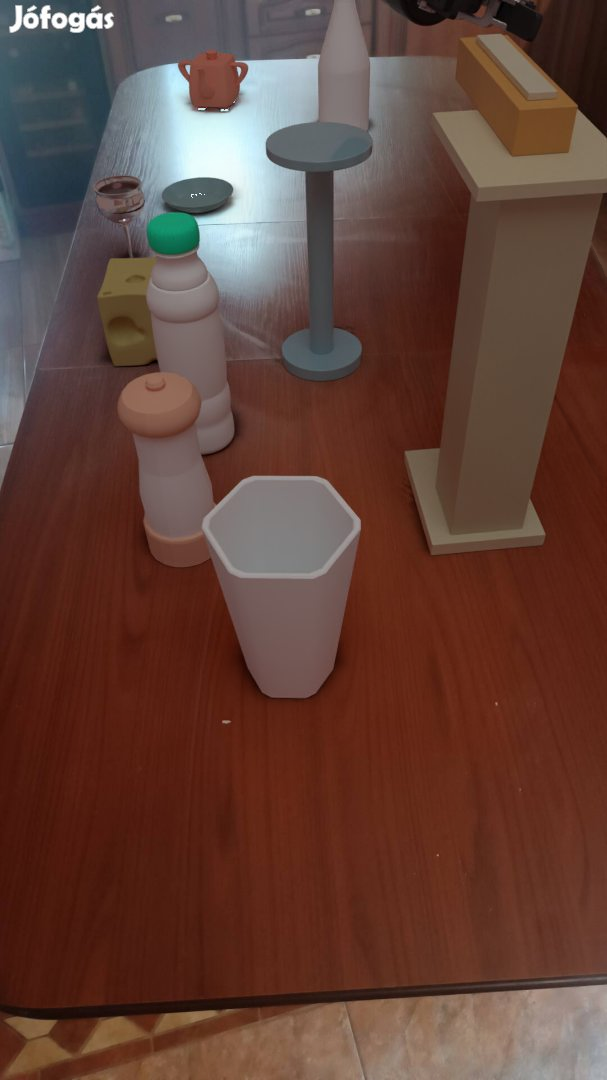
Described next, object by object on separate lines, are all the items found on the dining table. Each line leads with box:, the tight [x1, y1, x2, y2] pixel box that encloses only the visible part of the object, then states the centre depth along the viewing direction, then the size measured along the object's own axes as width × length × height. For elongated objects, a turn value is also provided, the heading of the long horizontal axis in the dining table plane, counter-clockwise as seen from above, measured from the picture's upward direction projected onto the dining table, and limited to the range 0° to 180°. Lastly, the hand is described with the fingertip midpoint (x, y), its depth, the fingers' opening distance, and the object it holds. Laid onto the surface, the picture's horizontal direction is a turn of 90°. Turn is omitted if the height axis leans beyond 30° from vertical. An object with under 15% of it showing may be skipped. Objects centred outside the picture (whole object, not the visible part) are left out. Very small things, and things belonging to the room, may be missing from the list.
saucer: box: [161, 176, 234, 214], centre depth 132 cm, size 12×12×2 cm
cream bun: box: [454, 33, 579, 156], centre depth 60 cm, size 17×4×4 cm, turn 6°
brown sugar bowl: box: [177, 49, 249, 110], centre depth 163 cm, size 14×12×10 cm
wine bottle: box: [317, 0, 371, 132], centre depth 143 cm, size 10×10×30 cm
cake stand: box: [265, 121, 374, 382], centre depth 91 cm, size 11×11×26 cm
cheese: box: [96, 256, 158, 367], centre depth 100 cm, size 10×11×10 cm
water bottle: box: [146, 211, 235, 456], centre depth 81 cm, size 7×7×25 cm
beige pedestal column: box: [403, 108, 607, 556], centre depth 69 cm, size 14×11×35 cm
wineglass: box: [92, 174, 146, 258], centre depth 115 cm, size 7×7×12 cm
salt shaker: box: [116, 371, 218, 568], centre depth 72 cm, size 7×7×19 cm
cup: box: [201, 475, 362, 699], centre depth 62 cm, size 11×10×17 cm
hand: (497, 17), depth 68 cm, fingers open, 8 cm apart
